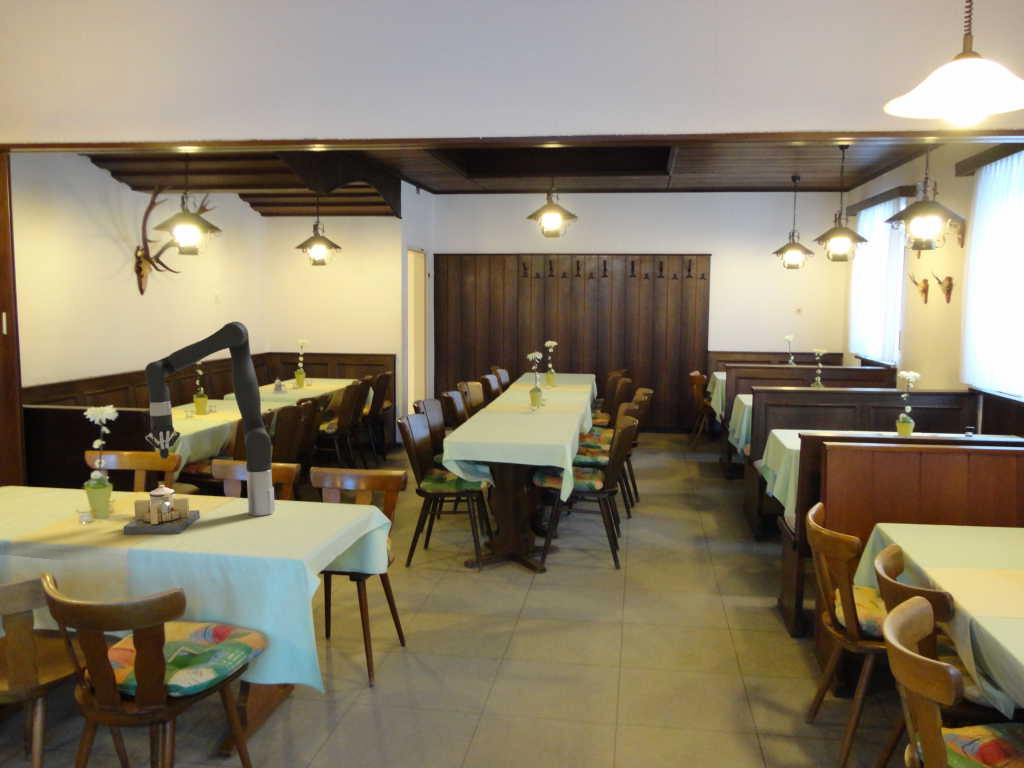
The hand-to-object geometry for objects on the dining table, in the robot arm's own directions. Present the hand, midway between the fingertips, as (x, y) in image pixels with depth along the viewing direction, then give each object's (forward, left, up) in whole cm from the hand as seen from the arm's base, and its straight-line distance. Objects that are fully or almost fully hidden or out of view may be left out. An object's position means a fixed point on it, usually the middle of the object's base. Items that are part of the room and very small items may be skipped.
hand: (164, 458), depth 305 cm
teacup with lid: (+4, -7, -24) cm, 25 cm away
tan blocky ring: (-2, +11, -20) cm, 23 cm away
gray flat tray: (-2, +11, -23) cm, 26 cm away
